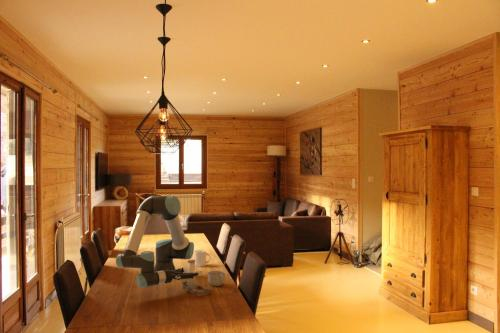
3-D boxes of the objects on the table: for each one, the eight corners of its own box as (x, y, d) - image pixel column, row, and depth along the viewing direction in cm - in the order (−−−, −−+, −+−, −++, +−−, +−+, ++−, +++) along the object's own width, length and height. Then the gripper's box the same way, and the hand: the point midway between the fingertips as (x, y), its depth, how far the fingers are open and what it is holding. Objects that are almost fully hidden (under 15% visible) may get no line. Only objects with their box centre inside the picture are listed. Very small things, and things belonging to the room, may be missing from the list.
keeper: (185, 286, 255) (185, 260, 255) (192, 285, 258) (192, 258, 258) (190, 288, 250) (190, 261, 250) (197, 287, 253) (197, 260, 253)
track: (182, 288, 255) (182, 281, 255) (193, 286, 260) (193, 279, 260) (198, 296, 239) (198, 289, 239) (210, 293, 244) (210, 286, 244)
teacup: (206, 283, 266) (206, 270, 266) (222, 281, 269) (222, 269, 269) (212, 289, 252) (211, 276, 252) (229, 287, 256) (229, 274, 256)
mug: (210, 266, 311) (210, 252, 311) (194, 267, 310) (194, 252, 310) (210, 263, 320) (210, 249, 320) (194, 264, 319) (194, 250, 319)
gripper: (155, 279, 252) (188, 273, 266) (172, 287, 234) (207, 281, 247) (155, 266, 252) (188, 261, 266) (172, 274, 234) (207, 268, 247)
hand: (197, 271), depth 256 cm, fingers open, 10 cm apart
